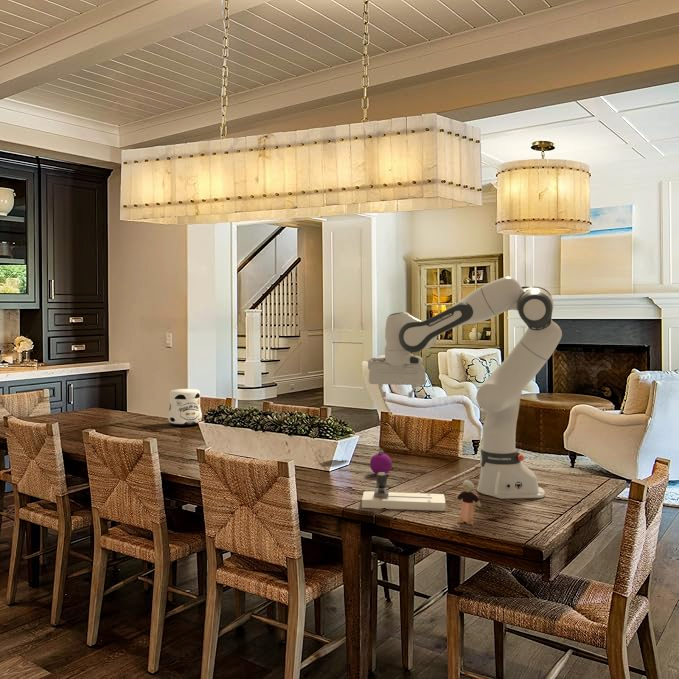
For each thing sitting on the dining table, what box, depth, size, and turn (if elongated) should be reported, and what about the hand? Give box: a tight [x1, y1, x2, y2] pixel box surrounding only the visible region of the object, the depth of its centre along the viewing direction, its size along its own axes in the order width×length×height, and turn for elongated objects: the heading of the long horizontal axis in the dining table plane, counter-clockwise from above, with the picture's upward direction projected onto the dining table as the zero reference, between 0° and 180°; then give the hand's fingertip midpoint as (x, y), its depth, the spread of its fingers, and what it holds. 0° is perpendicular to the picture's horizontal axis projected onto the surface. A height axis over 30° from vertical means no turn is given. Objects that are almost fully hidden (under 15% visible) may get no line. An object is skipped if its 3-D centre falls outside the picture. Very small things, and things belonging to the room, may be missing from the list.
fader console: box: [361, 490, 446, 512], centre depth 221 cm, size 26×10×3 cm, turn 84°
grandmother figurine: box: [455, 479, 482, 525], centre depth 203 cm, size 8×4×13 cm, turn 69°
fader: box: [373, 472, 390, 497], centre depth 221 cm, size 4×4×7 cm
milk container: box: [167, 388, 203, 427], centre depth 363 cm, size 17×17×18 cm
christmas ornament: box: [369, 448, 393, 475], centre depth 259 cm, size 8×8×10 cm
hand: (397, 397), depth 244 cm, fingers open, 8 cm apart
